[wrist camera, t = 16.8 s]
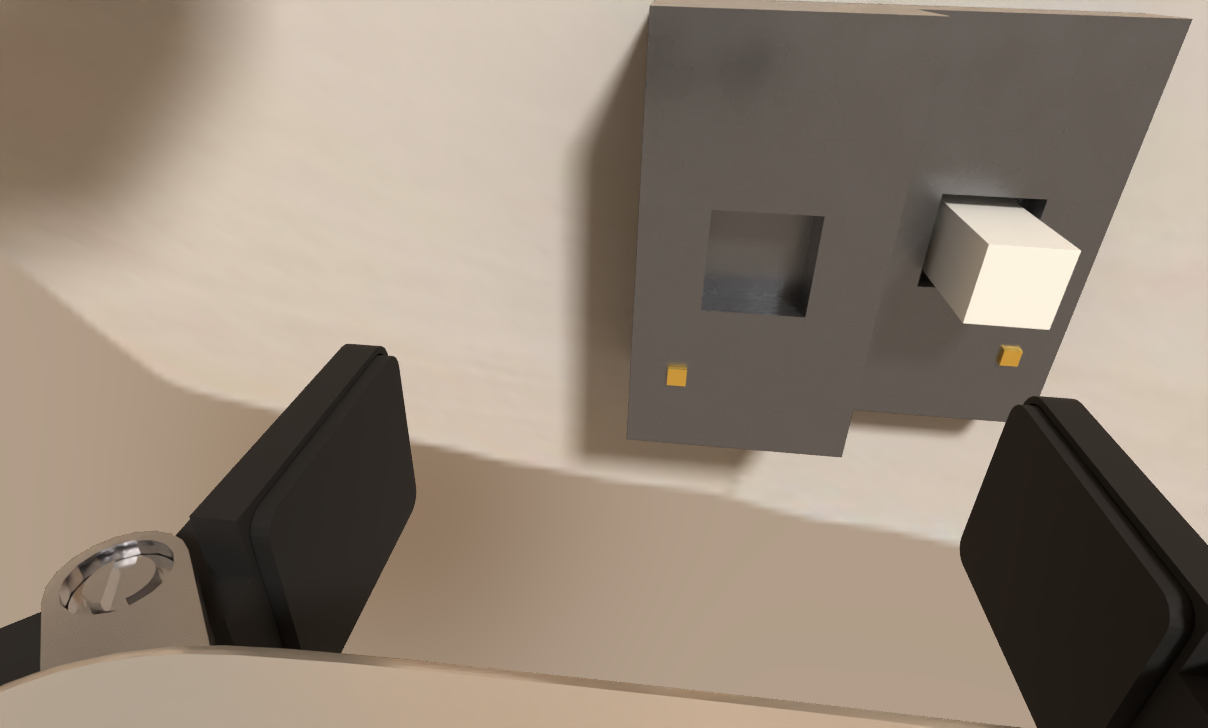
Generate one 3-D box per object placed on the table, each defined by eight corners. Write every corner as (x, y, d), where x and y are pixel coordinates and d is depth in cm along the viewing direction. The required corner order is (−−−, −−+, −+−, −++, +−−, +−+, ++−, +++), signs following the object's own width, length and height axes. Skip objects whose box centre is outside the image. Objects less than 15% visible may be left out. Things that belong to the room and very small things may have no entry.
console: (657, -4, 36) (649, 5, 28) (1142, 13, 34) (1279, 28, 26) (636, 361, 47) (626, 442, 39) (1002, 388, 46) (1069, 479, 38)
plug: (935, 193, 38) (988, 244, 31) (1010, 198, 38) (1081, 250, 31) (913, 269, 41) (959, 332, 34) (984, 274, 40) (1045, 339, 33)
